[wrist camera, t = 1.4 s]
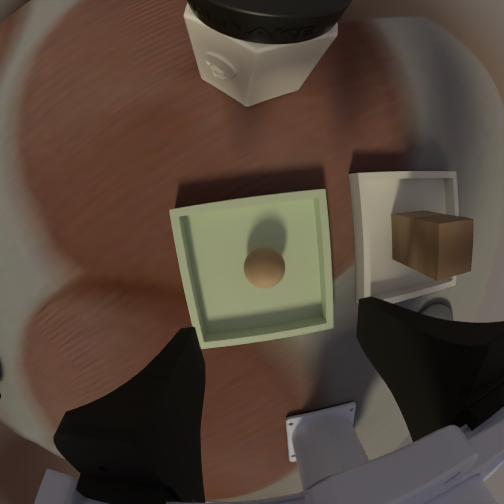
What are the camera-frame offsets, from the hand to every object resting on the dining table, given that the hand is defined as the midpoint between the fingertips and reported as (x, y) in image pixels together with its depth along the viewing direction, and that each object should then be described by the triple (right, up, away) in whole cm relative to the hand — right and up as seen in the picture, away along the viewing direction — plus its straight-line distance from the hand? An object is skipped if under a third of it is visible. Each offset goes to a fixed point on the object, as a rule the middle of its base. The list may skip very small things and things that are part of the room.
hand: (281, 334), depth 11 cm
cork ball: (0, +3, +10) cm, 11 cm away
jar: (-1, +19, +7) cm, 20 cm away
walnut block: (+13, +5, +11) cm, 17 cm away
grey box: (+13, +5, +11) cm, 18 cm away
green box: (-1, +2, +11) cm, 11 cm away
